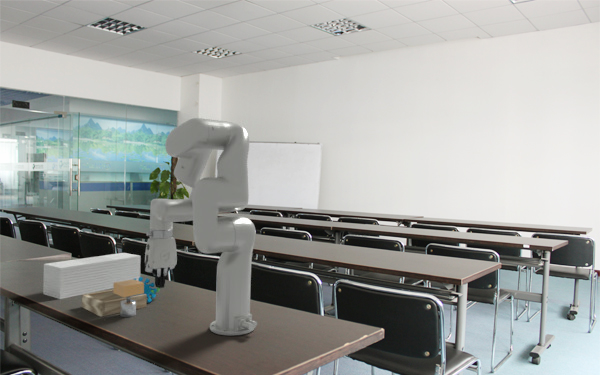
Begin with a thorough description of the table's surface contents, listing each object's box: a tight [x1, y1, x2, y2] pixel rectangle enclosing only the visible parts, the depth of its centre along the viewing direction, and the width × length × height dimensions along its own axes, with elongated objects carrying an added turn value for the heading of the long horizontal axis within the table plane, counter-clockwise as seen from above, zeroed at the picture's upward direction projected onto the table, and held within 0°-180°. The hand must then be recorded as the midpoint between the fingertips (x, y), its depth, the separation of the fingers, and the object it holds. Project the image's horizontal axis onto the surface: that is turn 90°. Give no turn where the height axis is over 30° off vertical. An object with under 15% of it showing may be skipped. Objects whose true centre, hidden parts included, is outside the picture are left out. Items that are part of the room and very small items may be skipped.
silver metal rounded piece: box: [119, 296, 137, 318], centre depth 137 cm, size 4×4×6 cm
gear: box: [132, 276, 161, 303], centre depth 152 cm, size 11×6×10 cm
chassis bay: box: [81, 288, 148, 318], centre depth 144 cm, size 13×15×4 cm
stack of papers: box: [42, 252, 142, 300], centre depth 168 cm, size 32×11×11 cm, turn 147°
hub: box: [112, 279, 144, 297], centre depth 136 cm, size 6×6×3 cm
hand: (159, 287), depth 156 cm, fingers closed
